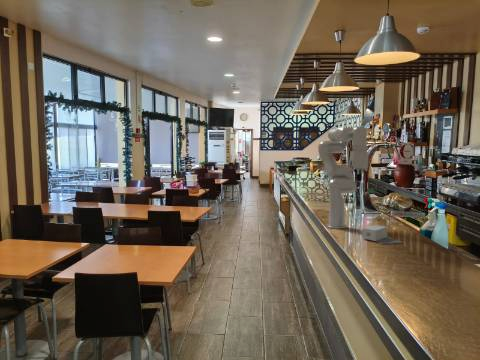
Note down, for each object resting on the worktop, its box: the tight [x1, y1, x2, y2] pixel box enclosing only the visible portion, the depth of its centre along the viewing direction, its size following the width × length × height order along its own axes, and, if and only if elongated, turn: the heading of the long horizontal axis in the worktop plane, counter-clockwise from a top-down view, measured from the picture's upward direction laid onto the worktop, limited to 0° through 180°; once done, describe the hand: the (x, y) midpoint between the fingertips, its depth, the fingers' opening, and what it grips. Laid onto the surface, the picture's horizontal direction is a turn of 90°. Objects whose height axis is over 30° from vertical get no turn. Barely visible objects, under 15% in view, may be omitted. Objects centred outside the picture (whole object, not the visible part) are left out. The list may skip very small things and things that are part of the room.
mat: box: [375, 235, 404, 245], centre depth 210 cm, size 16×13×1 cm
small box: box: [362, 224, 388, 242], centre depth 212 cm, size 8×6×13 cm
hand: (358, 180), depth 214 cm, fingers closed
